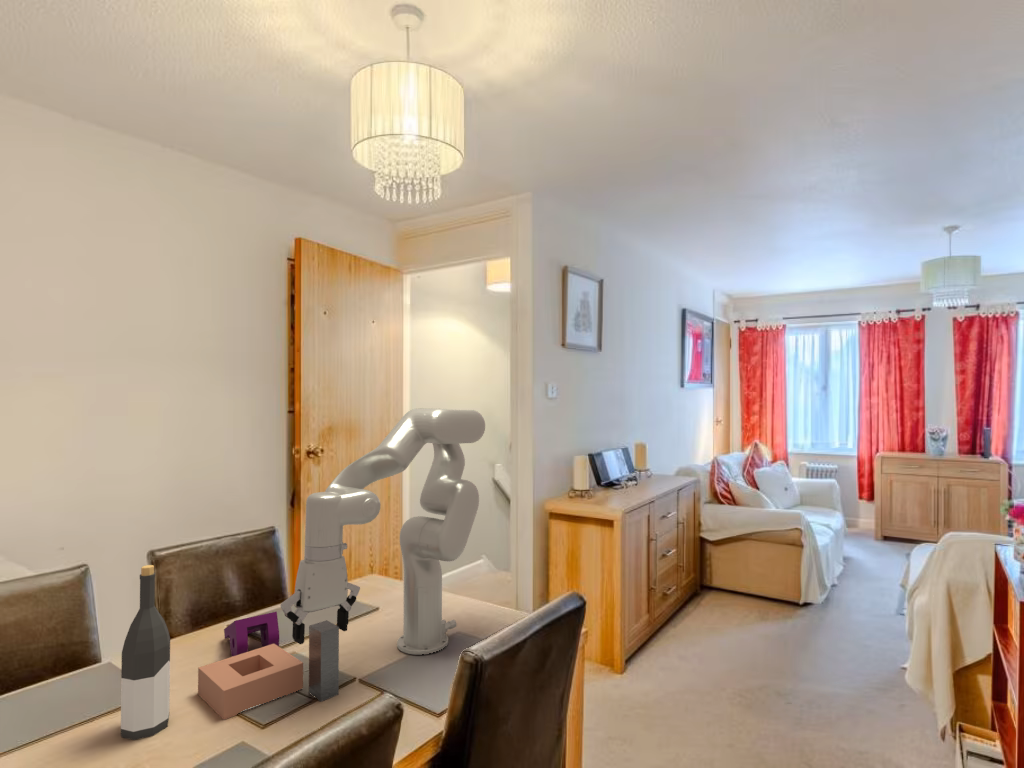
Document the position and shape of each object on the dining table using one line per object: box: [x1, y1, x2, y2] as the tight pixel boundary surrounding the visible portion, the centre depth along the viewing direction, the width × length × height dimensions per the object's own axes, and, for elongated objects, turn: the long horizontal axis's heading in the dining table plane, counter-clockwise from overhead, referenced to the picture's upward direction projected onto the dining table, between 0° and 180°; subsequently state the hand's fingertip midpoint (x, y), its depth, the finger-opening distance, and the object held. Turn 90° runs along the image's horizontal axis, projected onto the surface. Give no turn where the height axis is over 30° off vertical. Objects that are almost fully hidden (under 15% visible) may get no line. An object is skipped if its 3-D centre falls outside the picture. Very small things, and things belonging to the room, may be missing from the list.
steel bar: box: [308, 619, 340, 702], centre depth 120 cm, size 4×5×14 cm
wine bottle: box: [120, 564, 171, 741], centre depth 108 cm, size 8×8×30 cm
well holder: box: [197, 644, 304, 721], centre depth 121 cm, size 16×14×6 cm
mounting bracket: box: [223, 611, 280, 657], centre depth 143 cm, size 9×8×18 cm
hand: (321, 635), depth 120 cm, fingers open, 9 cm apart
